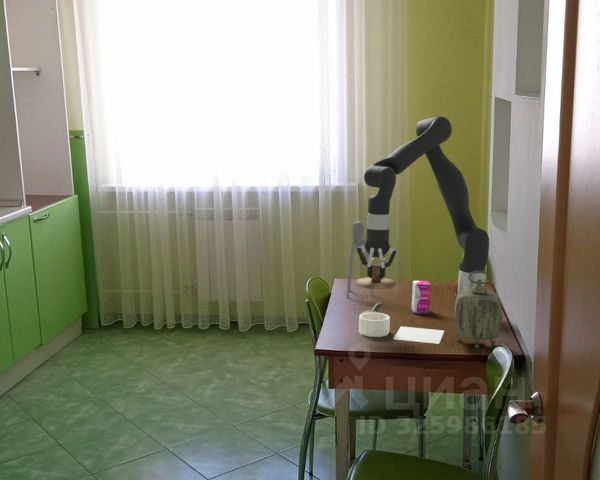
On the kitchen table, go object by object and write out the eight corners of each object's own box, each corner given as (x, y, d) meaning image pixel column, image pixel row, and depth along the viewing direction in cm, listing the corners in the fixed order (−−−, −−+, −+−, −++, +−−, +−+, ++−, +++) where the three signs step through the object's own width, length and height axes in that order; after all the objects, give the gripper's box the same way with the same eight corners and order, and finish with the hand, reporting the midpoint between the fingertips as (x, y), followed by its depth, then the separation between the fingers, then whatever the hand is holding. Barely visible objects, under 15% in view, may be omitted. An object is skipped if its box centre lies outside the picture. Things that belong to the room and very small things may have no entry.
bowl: (391, 331, 263) (391, 314, 262) (385, 339, 254) (386, 322, 253) (362, 328, 266) (363, 311, 265) (356, 336, 257) (356, 319, 256)
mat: (444, 332, 263) (444, 330, 262) (439, 345, 248) (439, 343, 248) (400, 328, 267) (400, 326, 267) (393, 340, 253) (393, 339, 253)
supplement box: (413, 314, 284) (415, 284, 282) (411, 309, 290) (412, 280, 288) (429, 314, 284) (430, 284, 282) (426, 309, 290) (427, 280, 288)
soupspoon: (357, 322, 278) (375, 324, 276) (358, 313, 277) (376, 315, 275) (371, 304, 298) (387, 306, 296) (371, 296, 297) (388, 298, 295)
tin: (459, 303, 300) (460, 282, 298) (451, 302, 301) (452, 281, 300) (472, 295, 312) (473, 275, 311) (464, 294, 314) (465, 274, 312)
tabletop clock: (497, 343, 251) (502, 269, 246) (500, 352, 242) (505, 275, 237) (452, 341, 253) (456, 267, 248) (453, 350, 244) (457, 273, 240)
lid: (398, 281, 261) (399, 263, 260) (391, 290, 249) (392, 271, 248) (360, 278, 265) (361, 260, 263) (352, 287, 252) (353, 268, 251)
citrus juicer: (348, 290, 318) (350, 218, 312) (373, 291, 317) (375, 219, 311) (346, 297, 307) (348, 223, 301) (371, 298, 305) (373, 224, 300)
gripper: (401, 226, 255) (399, 277, 258) (359, 223, 259) (357, 273, 262) (397, 230, 248) (395, 282, 251) (354, 227, 252) (352, 278, 255)
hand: (376, 277), depth 256 cm, fingers closed on lid, 3 cm apart
